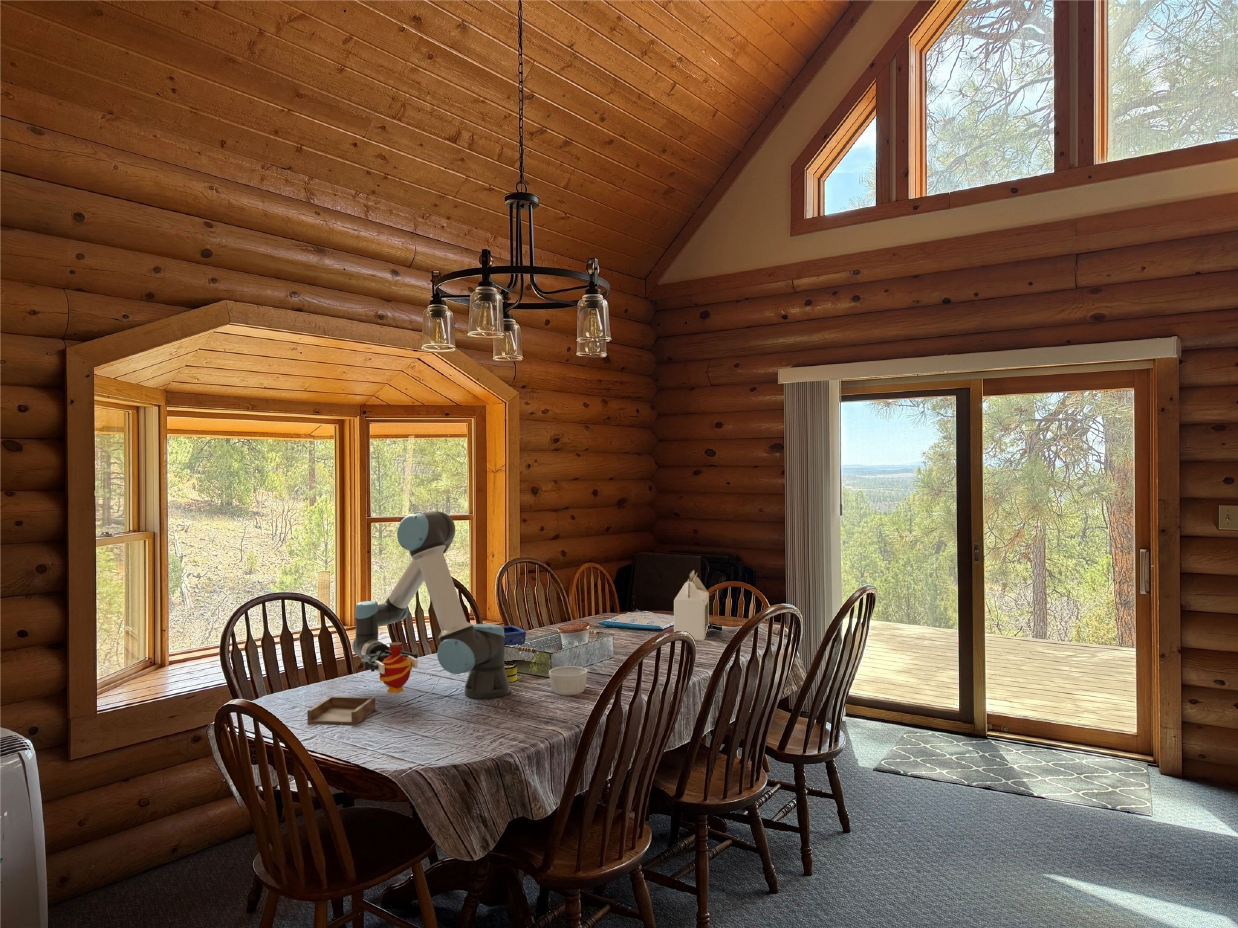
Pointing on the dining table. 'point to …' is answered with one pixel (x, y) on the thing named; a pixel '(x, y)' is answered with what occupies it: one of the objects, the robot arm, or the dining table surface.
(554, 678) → the ramekin
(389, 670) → the potion bottle
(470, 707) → the dining table surface
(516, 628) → the flower pot
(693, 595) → the gable box
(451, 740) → the dining table surface
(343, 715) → the u rest
